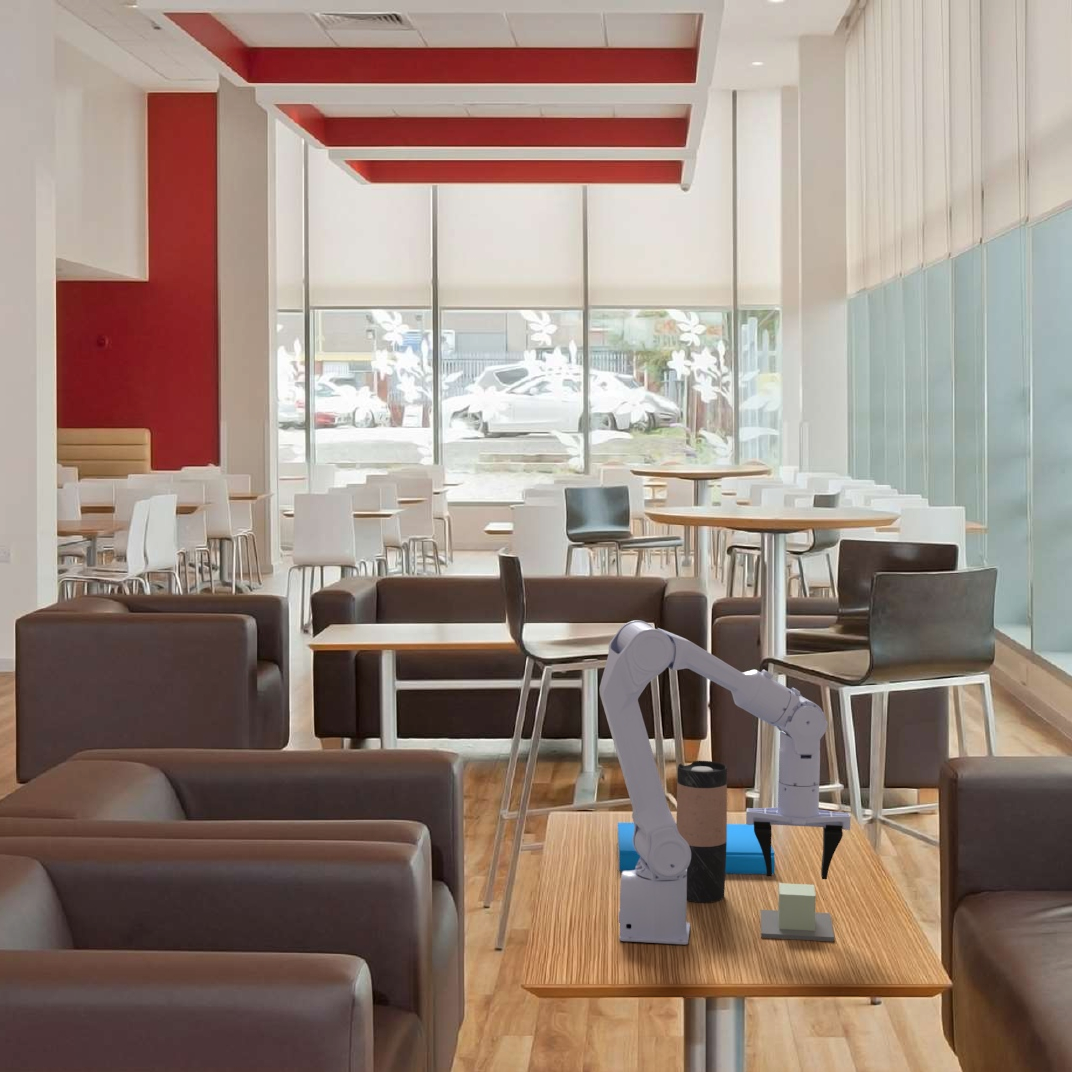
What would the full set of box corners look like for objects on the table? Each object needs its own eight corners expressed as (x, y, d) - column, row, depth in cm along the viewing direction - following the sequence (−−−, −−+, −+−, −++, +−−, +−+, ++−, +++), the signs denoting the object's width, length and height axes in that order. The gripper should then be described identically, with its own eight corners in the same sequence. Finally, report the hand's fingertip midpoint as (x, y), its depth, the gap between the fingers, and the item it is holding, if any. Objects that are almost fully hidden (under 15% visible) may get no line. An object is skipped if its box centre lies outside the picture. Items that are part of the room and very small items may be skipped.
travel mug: (724, 905, 213) (725, 773, 212) (673, 901, 215) (674, 770, 213) (727, 889, 221) (729, 761, 219) (678, 885, 222) (679, 759, 221)
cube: (778, 928, 202) (779, 894, 201) (778, 916, 206) (778, 883, 206) (815, 930, 201) (815, 895, 200) (813, 918, 206) (814, 884, 205)
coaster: (761, 937, 200) (761, 933, 200) (760, 913, 210) (760, 909, 210) (834, 941, 198) (834, 937, 198) (830, 917, 208) (830, 913, 208)
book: (616, 822, 246) (762, 821, 245) (616, 847, 246) (762, 846, 245) (619, 851, 228) (776, 851, 228) (619, 878, 229) (776, 877, 228)
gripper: (747, 786, 199) (745, 881, 200) (852, 791, 197) (850, 887, 198) (747, 774, 206) (745, 866, 207) (849, 778, 204) (847, 871, 205)
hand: (796, 875), depth 203 cm, fingers open, 7 cm apart
